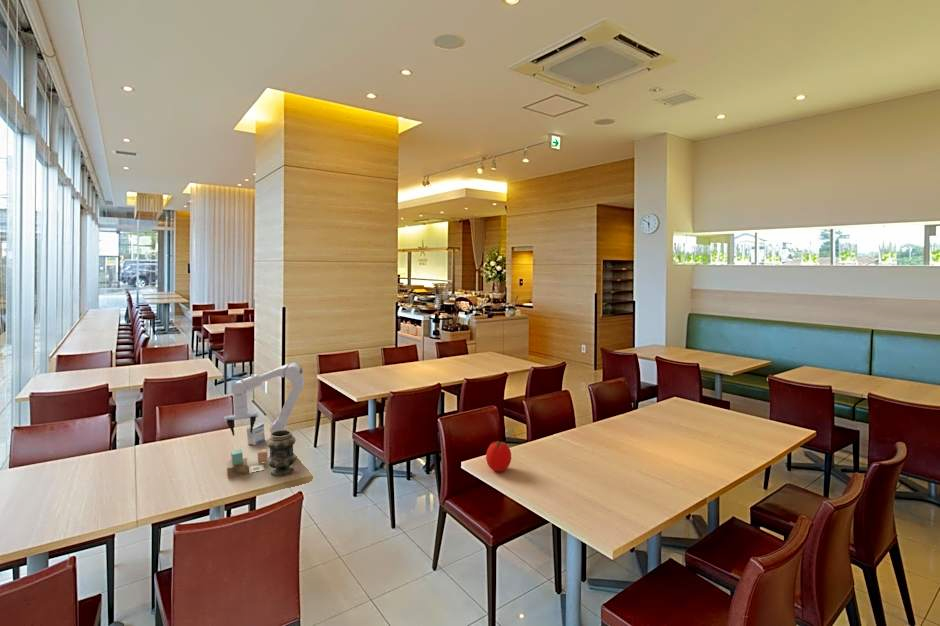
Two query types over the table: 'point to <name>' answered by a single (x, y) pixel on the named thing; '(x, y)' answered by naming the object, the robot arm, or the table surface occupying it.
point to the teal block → (236, 457)
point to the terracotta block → (262, 455)
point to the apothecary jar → (281, 453)
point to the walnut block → (237, 468)
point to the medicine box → (256, 434)
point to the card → (255, 468)
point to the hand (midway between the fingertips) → (242, 433)
